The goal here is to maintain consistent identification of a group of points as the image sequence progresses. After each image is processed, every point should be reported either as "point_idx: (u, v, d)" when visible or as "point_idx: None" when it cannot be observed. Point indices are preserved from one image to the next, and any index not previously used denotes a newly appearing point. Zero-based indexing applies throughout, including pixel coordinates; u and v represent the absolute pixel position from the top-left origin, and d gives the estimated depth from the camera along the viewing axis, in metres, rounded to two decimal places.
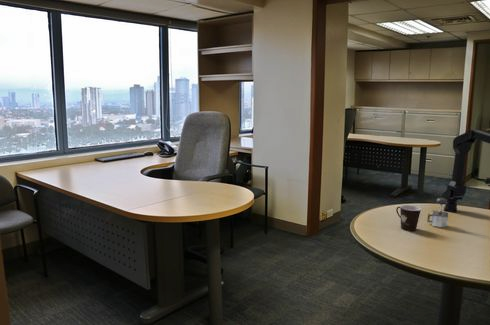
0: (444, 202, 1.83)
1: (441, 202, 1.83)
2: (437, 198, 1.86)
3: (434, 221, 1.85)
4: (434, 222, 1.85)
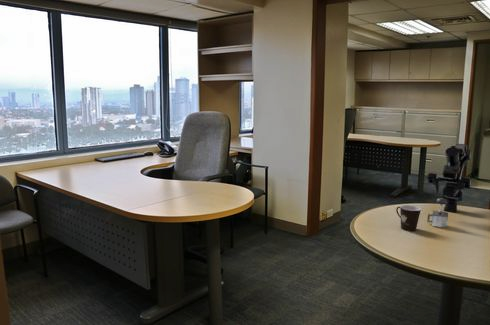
0: (444, 202, 1.83)
1: (441, 202, 1.83)
2: (437, 198, 1.86)
3: (434, 221, 1.85)
4: (434, 222, 1.85)
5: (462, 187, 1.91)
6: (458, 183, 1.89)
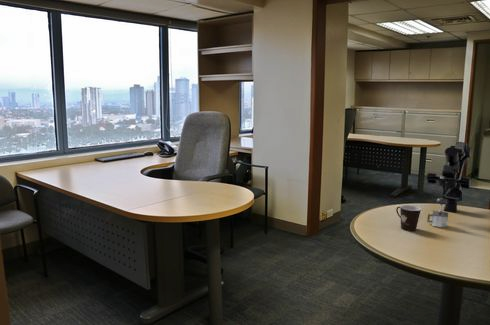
0: (444, 202, 1.83)
1: (441, 202, 1.83)
2: (437, 198, 1.86)
3: (434, 221, 1.85)
4: (434, 222, 1.85)
5: (453, 186, 1.91)
6: (449, 182, 1.90)
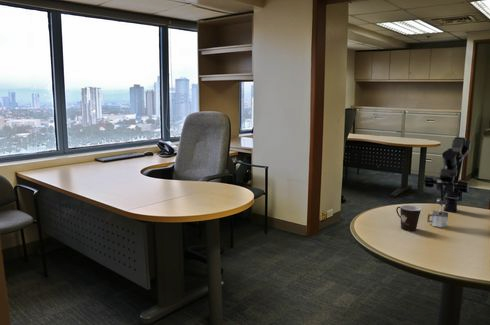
0: (444, 202, 1.83)
1: (441, 202, 1.83)
2: (438, 198, 1.86)
3: (434, 221, 1.85)
4: (434, 222, 1.85)
5: (451, 190, 1.87)
6: (447, 186, 1.85)
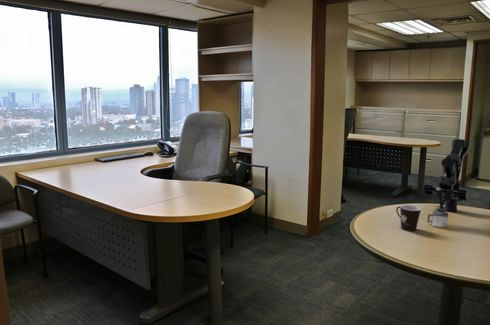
0: (443, 210, 1.83)
1: (440, 210, 1.83)
2: (436, 206, 1.87)
3: (434, 221, 1.85)
4: (434, 222, 1.85)
5: (450, 198, 1.87)
6: (446, 194, 1.86)
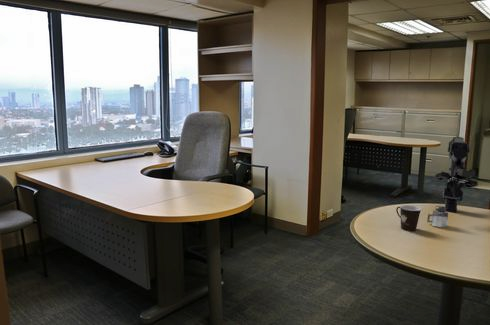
0: (443, 210, 1.83)
1: (440, 210, 1.83)
2: (436, 206, 1.87)
3: (434, 221, 1.85)
4: (434, 222, 1.85)
5: None
6: (461, 184, 1.90)
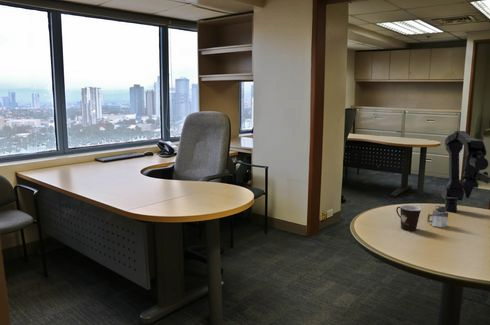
0: (443, 210, 1.83)
1: (440, 210, 1.83)
2: (436, 206, 1.87)
3: (434, 221, 1.85)
4: (434, 222, 1.85)
5: None
6: None
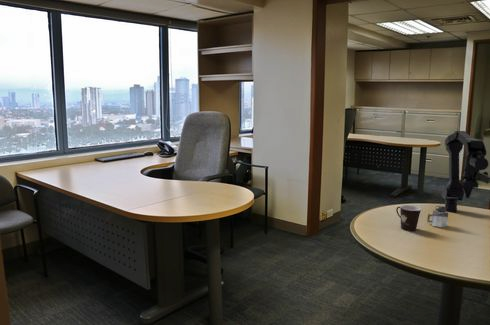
0: (443, 210, 1.83)
1: (440, 210, 1.83)
2: (436, 206, 1.87)
3: (434, 221, 1.85)
4: (434, 222, 1.85)
5: None
6: None
